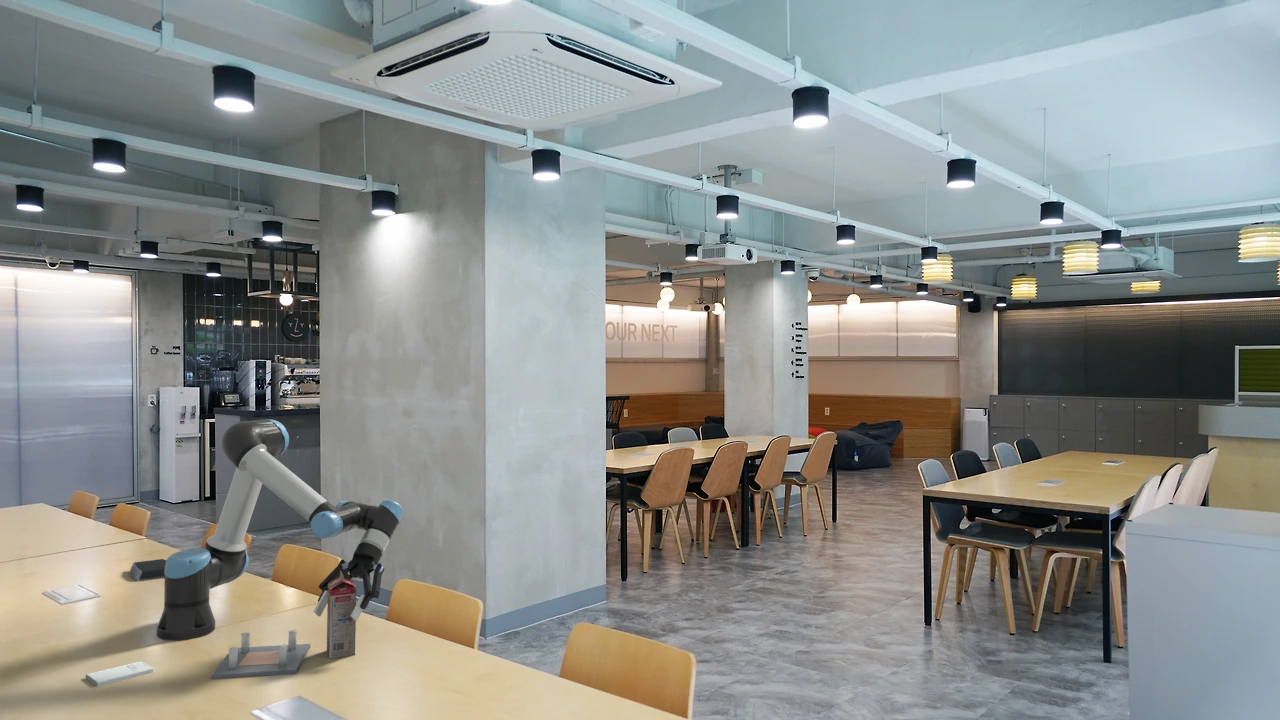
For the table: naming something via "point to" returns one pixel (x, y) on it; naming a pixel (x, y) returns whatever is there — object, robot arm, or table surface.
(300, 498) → the robot arm
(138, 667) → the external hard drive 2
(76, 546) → the table surface
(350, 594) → the juice carton
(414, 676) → the table surface
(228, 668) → the peg stand
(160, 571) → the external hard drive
